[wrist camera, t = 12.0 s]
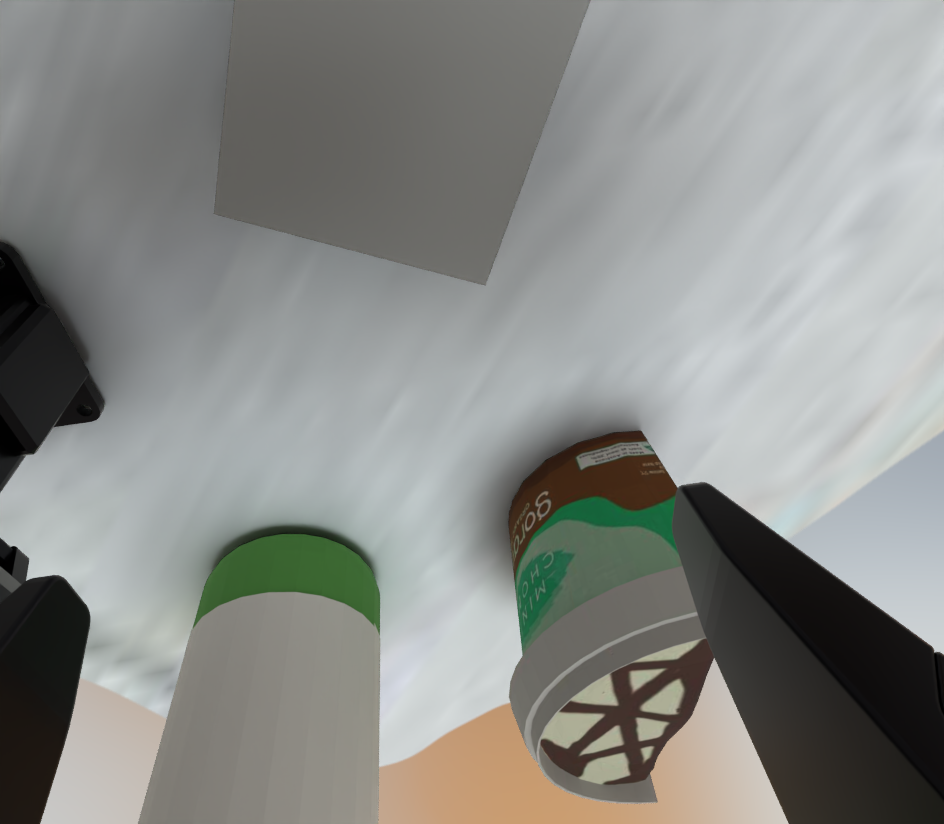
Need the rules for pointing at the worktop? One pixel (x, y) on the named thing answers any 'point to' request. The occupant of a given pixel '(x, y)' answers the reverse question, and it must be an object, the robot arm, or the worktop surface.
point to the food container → (602, 618)
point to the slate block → (390, 121)
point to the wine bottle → (276, 693)
